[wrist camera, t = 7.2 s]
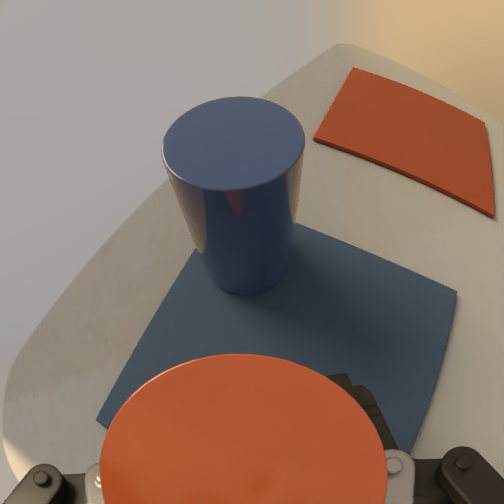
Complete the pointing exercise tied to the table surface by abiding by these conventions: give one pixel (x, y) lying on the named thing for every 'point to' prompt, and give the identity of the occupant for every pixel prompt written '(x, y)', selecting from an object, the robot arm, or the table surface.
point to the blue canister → (238, 188)
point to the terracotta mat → (412, 137)
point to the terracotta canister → (242, 438)
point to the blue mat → (310, 327)
